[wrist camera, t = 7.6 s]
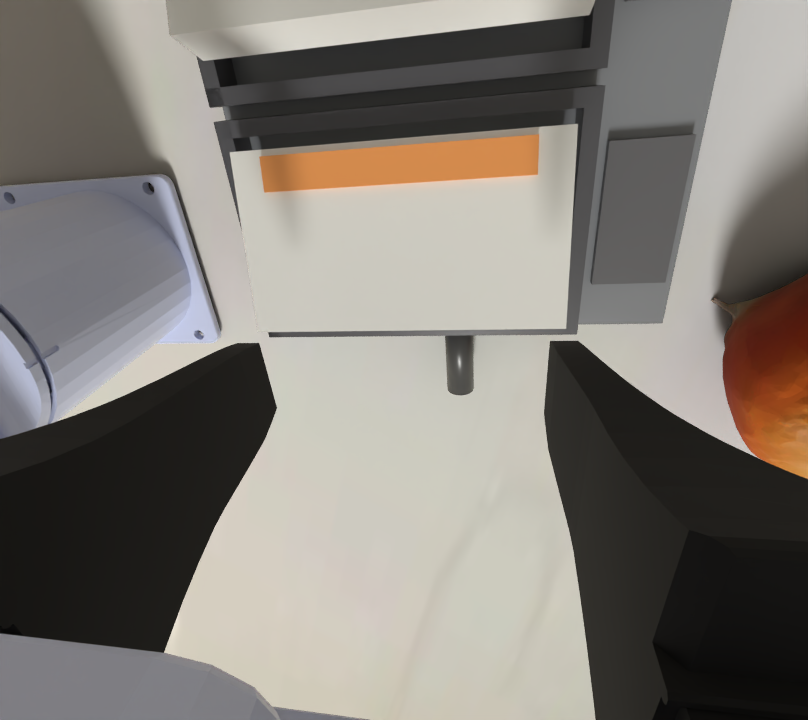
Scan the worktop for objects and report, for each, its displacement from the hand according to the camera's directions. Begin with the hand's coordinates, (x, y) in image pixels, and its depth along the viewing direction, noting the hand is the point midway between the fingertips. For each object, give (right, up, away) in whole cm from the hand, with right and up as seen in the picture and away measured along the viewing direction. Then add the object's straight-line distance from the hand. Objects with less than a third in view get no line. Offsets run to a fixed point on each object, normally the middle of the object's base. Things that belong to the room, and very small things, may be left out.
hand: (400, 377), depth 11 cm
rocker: (0, +4, +4) cm, 6 cm away
